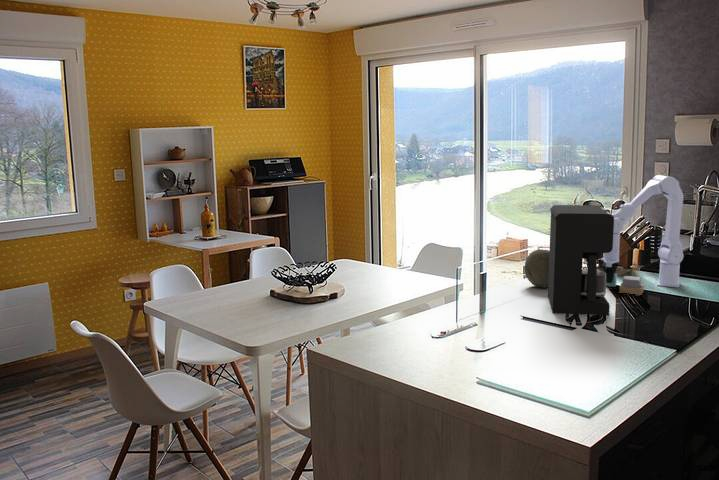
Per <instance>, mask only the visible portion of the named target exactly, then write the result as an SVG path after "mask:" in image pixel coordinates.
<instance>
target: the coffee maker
mask: <svg viewBox="0 0 719 480" xmlns="http://www.w3.org/2000/svg"><path fill="white" fill-rule="evenodd" d="M549 209H550V224H549V225H550V227H549V229H550V231H549V250H550V252H549V279H548V287H547V298H548V302H549V304H550V310H551V312H552V314H564V315H566V314H567V315H582V314H590V315H589V316H605V315H609V316H610V308H611V307H610V306H611V305H610V304H609V301H608V300H607V299H606V297H605V296H606V294H607V289H606V287H607V286H606V279H607V278H606V273H605V272H604V270H603V271H602V270H599V269H598V265H597V264H598V262H597V260H600V259H601V258H604V255H603V254H604V253H609V252H611V251H612V249H613V233H614V217H613V215H612V214H611V212H610V210H609V209H606V208H604V205H595V204H594V205H592V204H591V205H589V204H586V205H582V204H580V205H578V204H576V205H575V204H570V205H569V204H554V205H552V206H551V207H550V208H549ZM583 260H587V268H583ZM603 265H605V262H604V264H603Z"/></svg>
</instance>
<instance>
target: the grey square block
mask: <svg viewBox="0 0 719 480" xmlns="http://www.w3.org/2000/svg"><path fill="white" fill-rule="evenodd" d="M641 280H642V279H641V277H640V276H631V275H629V276H628V275H624V276H623V277H622V283H623V284H622V287H632V288H639V287H640V284H641Z"/></svg>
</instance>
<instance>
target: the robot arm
mask: <svg viewBox="0 0 719 480" xmlns="http://www.w3.org/2000/svg"><path fill="white" fill-rule="evenodd" d="M661 194H662V196H664V197H665V198H666V199H667V207H666V208H667V209H666V217H665V218H666V219H665V226H664V229H665V230H664V238H663V239H662V241H661V242H660V247H659V248H658V251H657V255H658V257H659V260H660V261H659V273H658V274H659V276H658V280H657V284H656V285H657V286H660V287H668V288H670V287H671V288H680V284H681V282H680V281H679V280H680V268H681V266H680V265H681V263H682V261H683V259H684V257H685V256H684V252H683V245H682V243H681V241H680V237H681V236H680V234H681V226H682V225H681V224H682V214H683V205H684V193H683V190H682V188H681V186H680V181H679V180H677V179H676V178H675V177H674V176H669V175H667V176H666V175H663V174H657V175H655V176H653V177H652V179H650V180H648V181H647V184H646V185H645V186H644V187H643V188H642V190H640V191H639V193H638V194H637V195H636V196H635V197H634V198H633V199H632V200H631V201H630V202H629V203H624V204H620V205H619V208H618V209H617V210H616V211H615V212H614V213H612V214H611V215H613V217H614V233H613V249H612V251H611V252H609V253H603V258H601V259H599V260H600V261H603V262H604V263H605V264H602V265H601V268H602V270H603V272H605V273H606V278H607V279H606V283H612V281H613V277H614V273H617V270H618V267H619V265H620V242H621V232H623V229H624V226H625V224H627V223H628V222H629V221H630V220H631V219H632V218H633V217H634V216H635V215H636V214H637V209H638V208H639V207H640V206H642V204H644V203H645V202H646V201H648V199H650V197H652V196H655V195H661Z"/></svg>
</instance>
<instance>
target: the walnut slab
mask: <svg viewBox="0 0 719 480" xmlns="http://www.w3.org/2000/svg"><path fill="white" fill-rule="evenodd" d="M622 284H623V282H621V283H620V286H619V291H618V293H629V294H637V295H636V296H640V295H642V296H643V294H644V289H645V285H644V284H642V283H640V287H639V288H632V287H622ZM642 293H643V294H642ZM629 294H628V295H629Z"/></svg>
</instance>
